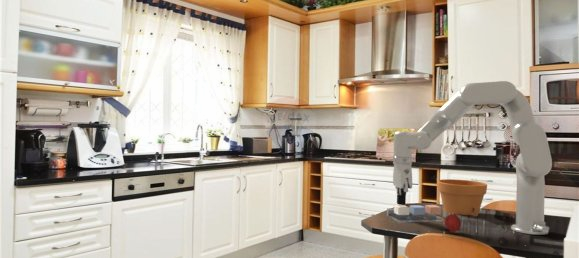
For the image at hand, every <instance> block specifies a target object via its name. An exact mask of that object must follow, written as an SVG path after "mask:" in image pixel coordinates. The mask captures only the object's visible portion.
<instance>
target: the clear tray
mask: <svg viewBox="0 0 579 258" xmlns="http://www.w3.org/2000/svg"><path fill="white" fill-rule="evenodd" d="M386 216H387V217H389V218H390V219H392V220H394V221H396V222H398V223H426V222H427V223H429V222H430V223H432V222H434V223H435V222H441V223H442V222H445V219H446V218H443V217H440V215H438V214H431V215H430V214H428V213H426V212H425V215H414V214H412V213H410V207H409V215H397V214H396V213H394V207H393V208H391V207H389V208H386Z"/></svg>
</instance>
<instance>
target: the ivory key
mask: <svg viewBox="0 0 579 258" xmlns="http://www.w3.org/2000/svg"><path fill="white" fill-rule="evenodd" d="M393 208H394V213H396V214H397V215H409V208H410V206H406V204H405V205H393Z"/></svg>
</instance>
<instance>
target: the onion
mask: <svg viewBox="0 0 579 258" xmlns="http://www.w3.org/2000/svg"><path fill="white" fill-rule="evenodd" d="M444 219H445V221H444V226H445V228H446V229H447V230H448V231H449V232H450V233H452V234H454V233H456V232H457V231H459V230H460V229H461V227H462V221H461V219H460V217H459V216H458V214H455V213H454V212H451V213H449V214H448V215H447V216H446V217H445V218H444Z"/></svg>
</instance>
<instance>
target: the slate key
mask: <svg viewBox="0 0 579 258" xmlns="http://www.w3.org/2000/svg"><path fill="white" fill-rule="evenodd" d="M409 208H410V213H412V214H414V215H425V206H423V205H421V204H419V205H418V204H417V205H416V204H415V205H413V204H412V205H411V204H410V205H409Z"/></svg>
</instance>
